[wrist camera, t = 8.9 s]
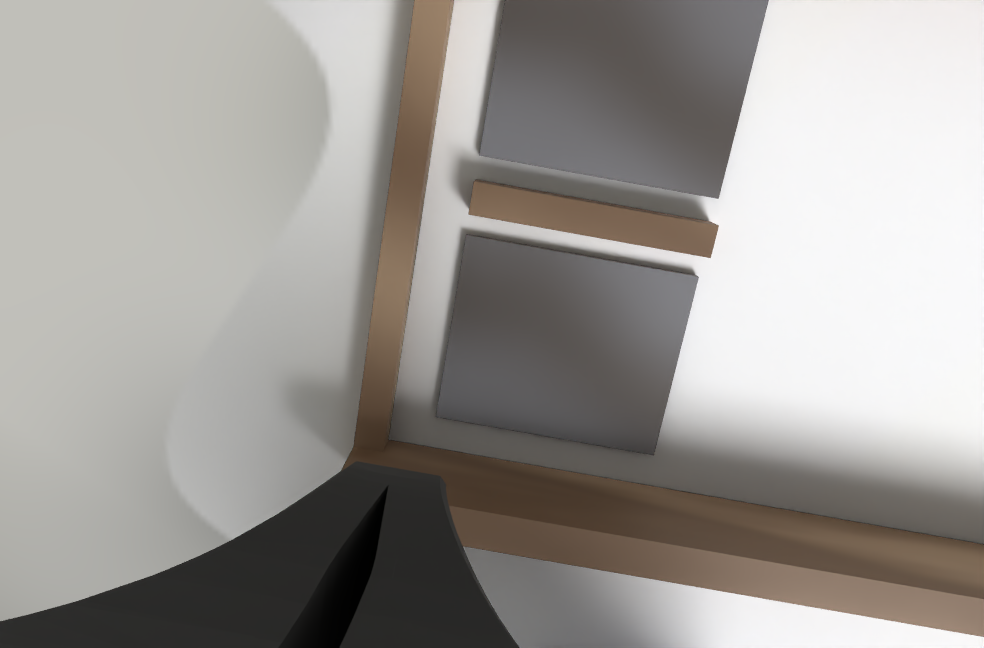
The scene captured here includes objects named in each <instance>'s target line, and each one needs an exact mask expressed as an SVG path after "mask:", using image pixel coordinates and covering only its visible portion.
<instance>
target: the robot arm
mask: <svg viewBox="0 0 984 648" xmlns="http://www.w3.org/2000/svg"><path fill="white" fill-rule="evenodd" d="M0 648H519V646H518V645H517V644H516V642H515V641H514V640H513V638H512V637H511V635H510V634H509V632H508V631H507V629H506V628H505V626H504V625H503V623H502V622H501V620H500V619H499V617H498V615H497V614H496V612H495V610H494V609H493V607H492V605H491V604H490V602H489V600H488V598H487V597H486V595H485V593H484V591H483V589H482V587H481V585H480V583H479V581H478V579H477V577H476V575H475V573H474V571H473V569H472V567H471V565H470V563H469V561H468V558H467V556H466V554H465V551H464V549H463V546H462V544H461V541H460V539H459V536H458V534H457V531H456V528H455V525H454V522H453V519H452V515H451V512H450V508H449V504H448V500H447V493H446V483H445V482H444V481H443V479H442V478H441V476H439V475H433V474H427V473H421V472H416V471H410V470H404V469H399V468H393V467H387V466H381V465H376V464H370V463H364V462H359V461H356V462H354V463H353V464H351V465H350V466H348V467H347V468H345V469H344V470H342V471H341V472H339V473H338V474H336V475H335V476H333V477H332V478H331V479H329V480H328V481H326V482H325V483H323V484H322V485H321V486H319V487H318V488H316V489H315V490H313V491H312V492H311V493H309V494H308V495H306V496H305V497H303V498H302V499H300V500H299V501H297V502H295V503H294V504H292V505H291V506H289V507H288V508H286V509H285V510H283V511H282V512H280V513H279V514H277V515H275V516H273V517H272V518H270V519H268V520H266V521H265V522H263V523H261V524H259V525H258V526H256V527H254V528H252V529H251V530H249V531H247V532H245V533H244V534H242V535H240V536H238V537H237V538H235V539H233V540H231V541H229V542H227V543H225V544H223V545H221V546H219V547H217V548H215V549H213V550H211V551H209V552H207V553H204V554H202V555H200V556H198V557H196V558H194V559H191V560H189V561H186V562H184V563H182V564H179V565H177V566H175V567H172V568H170V569H168V570H165V571H163V572H160V573H158V574H155V575H153V576H150V577H147V578H144V579H141V580H138V581H135V582H132V583H129V584H127V585H123V586H120V587H118V588H115V589H112V590H109V591H106V592H103V593H100V594H97V595H95V596H91V597H89V598H85V599H82V600H79V601H76V602H73V603H69V604H66V605H62V606H59V607H55V608H51V609H47V610H44V611H40V612H37V613H33V614H29V615H26V616H21V617H17V618H13V619H9V620H5V621H0Z"/></svg>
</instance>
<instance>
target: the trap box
mask: <svg viewBox="0 0 984 648" xmlns="http://www.w3.org/2000/svg"><path fill="white" fill-rule="evenodd" d="M768 1H769V0H505V4H504V10H503V16H502V22H501V28H500V34H499V40H498V46H497V52H496V58H495V64H494V70H493V76H492V82H491V88H490V94H489V100H488V106H487V112H486V118H485V124H484V130H483V136H482V142H481V148H480V154H479V155H480V156H485V157H491V158H496V159H502V160H507V161H513V162H518V163H524V164H529V165H535V166H540V167H546V168H551V169H557V170H563V171H568V172H574V173H579V174H585V175H590V176H596V177H601V178H607V179H612V180H618V181H623V182H629V183H634V184H640V185H646V186H651V187H657V188H662V189H668V190H673V191H679V192H684V193H690V194H695V195H701V196H706V197H712V198H718V199H719V195H720V191H721V187H722V183H723V179H724V175H725V171H726V167H727V163H728V159H729V155H730V151H731V147H732V143H733V139H734V135H735V132H736V128H737V124H738V120H739V116H740V112H741V108H742V104H743V100H744V96H745V92H746V88H747V84H748V80H749V76H750V72H751V68H752V64H753V60H754V56H755V52H756V48H757V44H758V41H759V37H760V33H761V29H762V25H763V21H764V17H765V13H766V9H767V5H768ZM453 4H454V0H414V8H413V15H412V22H411V29H410V37H409V44H408V51H407V59H406V66H405V73H404V81H403V88H402V95H401V103H400V110H399V117H398V125H397V132H396V139H395V147H394V154H393V161H392V169H391V176H390V183H389V191H388V198H387V205H386V213H385V220H384V227H383V234H382V242H381V249H380V256H379V264H378V271H377V278H376V286H375V293H374V300H373V308H372V315H371V322H370V330H369V337H368V344H367V352H366V359H365V366H364V374H363V381H362V388H361V396H360V403H359V410H358V418H357V425H356V432H355V440H354V447H353V449H352V451H351V453H350V455H349V457H348V458H347V460H346V462H345V464H344V466H343V468H342V470H344V469H345V468H347V467H348V466H350V465H351V464H353V463H354V462H356V461H359V462H364V463H370V464H376V465H381V466H387V467H393V468H399V469H404V470H410V471H416V472H421V473H427V474H433V475H439V476H441V478H442V479H443V481H444V482H445V483H446V493H447V500H448V504H449V508H450V512H451V515H452V519H453V522H454V525H455V528H456V531H457V534H458V536H459V539H460V541H461V544H462V546H465V547H471V548H477V549H482V550H488V551H494V552H500V553H505V554H511V555H517V556H523V557H528V558H534V559H540V560H545V561H551V562H557V563H563V564H568V565H574V566H580V567H586V568H591V569H597V570H603V571H609V572H614V573H620V574H626V575H632V576H637V577H643V578H649V579H655V580H660V581H666V582H672V583H678V584H683V585H689V586H695V587H701V588H706V589H712V590H718V591H723V592H729V593H735V594H741V595H746V596H752V597H758V598H764V599H769V600H775V601H781V602H787V603H792V604H798V605H804V606H810V607H815V608H821V609H827V610H833V611H838V612H844V613H850V614H856V615H861V616H867V617H873V618H878V619H884V620H890V621H896V622H901V623H907V624H913V625H919V626H924V627H930V628H936V629H942V630H947V631H953V632H959V633H965V634H970V635H976V636H982V637H984V544H978V543H973V542H967V541H961V540H956V539H950V538H944V537H939V536H933V535H927V534H921V533H916V532H910V531H904V530H899V529H893V528H887V527H882V526H876V525H870V524H865V523H859V522H853V521H847V520H842V519H836V518H830V517H825V516H819V515H813V514H808V513H802V512H796V511H791V510H785V509H779V508H773V507H768V506H762V505H756V504H751V503H745V502H739V501H734V500H728V499H722V498H717V497H711V496H705V495H700V494H694V493H688V492H682V491H677V490H671V489H665V488H660V487H654V486H648V485H643V484H637V483H631V482H626V481H620V480H614V479H608V478H603V477H597V476H591V475H586V474H580V473H574V472H569V471H563V470H557V469H552V468H546V467H540V466H534V465H529V464H523V463H517V462H512V461H506V460H500V459H495V458H489V457H483V456H478V455H472V454H466V453H460V452H455V451H449V450H443V449H438V448H432V447H426V446H421V445H415V444H409V443H404V442H398V441H392V440H388V438H389V432H390V425H391V418H392V412H393V405H394V398H395V392H396V385H397V378H398V372H399V365H400V358H401V352H402V345H403V338H404V331H405V325H406V318H407V311H408V305H409V298H410V291H411V285H412V278H413V271H414V265H415V258H416V251H417V245H418V238H419V231H420V224H421V218H422V211H423V204H424V198H425V191H426V184H427V178H428V171H429V164H430V158H431V151H432V144H433V138H434V131H435V124H436V117H437V111H438V104H439V97H440V91H441V84H442V77H443V71H444V64H445V57H446V51H447V44H448V37H449V31H450V24H451V17H452V10H453ZM469 215H474V216H480V217H485V218H491V219H496V220H502V221H507V222H513V223H519V224H524V225H530V226H535V227H541V228H546V229H552V230H558V231H563V232H569V233H574V234H580V235H585V236H591V237H597V238H602V239H608V240H613V241H619V242H624V243H630V244H635V245H641V246H647V247H652V248H658V249H663V250H669V251H674V252H680V253H686V254H691V255H697V256H702V257H708V258H711V254H712V250H713V247H714V243H715V239H716V235H717V231H718V227H719V226H718V225H716V224H714V223H712V222H709V221H704V220H698V219H693V218H687V217H682V216H676V215H671V214H665V213H660V212H654V211H648V210H643V209H637V208H632V207H626V206H621V205H615V204H610V203H604V202H599V201H593V200H587V199H582V198H576V197H571V196H565V195H560V194H554V193H549V192H543V191H538V190H532V189H526V188H521V187H515V186H510V185H504V184H499V183H493V182H488V181H482V180H475V181H474V184H473V190H472V196H471V202H470V208H469ZM698 278H699V277H698V276H697V275H691V274H686V273H680V272H675V271H669V270H663V269H658V268H652V267H647V266H641V265H635V264H630V263H624V262H619V261H613V260H608V259H602V258H596V257H591V256H585V255H580V254H574V253H569V252H563V251H557V250H552V249H546V248H541V247H535V246H530V245H524V244H518V243H513V242H507V241H502V240H496V239H491V238H485V237H479V236H474V235H468V234H466V238H465V244H464V251H463V257H462V263H461V269H460V275H459V281H458V287H457V293H456V299H455V305H454V311H453V317H452V323H451V329H450V335H449V341H448V347H447V353H446V359H445V365H444V371H443V377H442V383H441V389H440V395H439V401H438V407H437V413H436V417H440V418H445V419H451V420H457V421H462V422H468V423H474V424H479V425H485V426H491V427H496V428H502V429H508V430H513V431H519V432H525V433H530V434H536V435H542V436H547V437H553V438H559V439H564V440H570V441H576V442H581V443H587V444H593V445H598V446H604V447H610V448H615V449H621V450H627V451H632V452H638V453H644V454H650V455H654V452H655V448H656V444H657V440H658V436H659V432H660V428H661V424H662V420H663V416H664V413H665V409H666V405H667V401H668V397H669V393H670V389H671V385H672V381H673V377H674V373H675V369H676V365H677V361H678V357H679V353H680V349H681V345H682V341H683V337H684V333H685V329H686V325H687V321H688V318H689V314H690V310H691V306H692V302H693V298H694V294H695V290H696V286H697V282H698ZM342 470H341V471H342Z"/></svg>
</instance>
